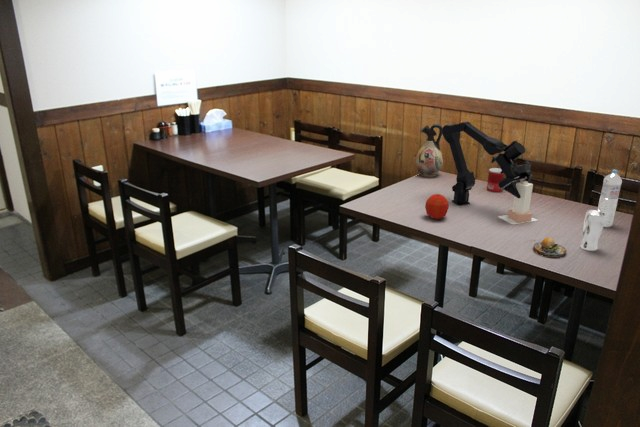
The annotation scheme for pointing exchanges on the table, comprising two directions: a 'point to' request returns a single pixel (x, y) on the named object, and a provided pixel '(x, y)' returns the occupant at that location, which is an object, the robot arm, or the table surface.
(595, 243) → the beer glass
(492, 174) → the canned food
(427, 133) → the ceramic jug
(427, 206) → the apple
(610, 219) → the water bottle
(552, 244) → the burger
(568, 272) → the table surface
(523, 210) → the tall block
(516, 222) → the baseplate
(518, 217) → the base block
